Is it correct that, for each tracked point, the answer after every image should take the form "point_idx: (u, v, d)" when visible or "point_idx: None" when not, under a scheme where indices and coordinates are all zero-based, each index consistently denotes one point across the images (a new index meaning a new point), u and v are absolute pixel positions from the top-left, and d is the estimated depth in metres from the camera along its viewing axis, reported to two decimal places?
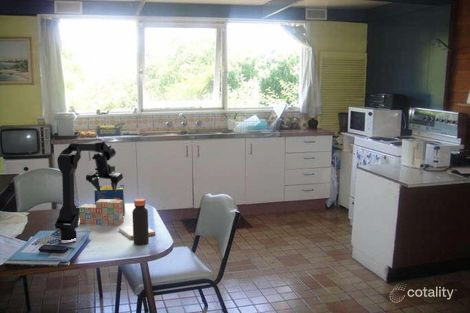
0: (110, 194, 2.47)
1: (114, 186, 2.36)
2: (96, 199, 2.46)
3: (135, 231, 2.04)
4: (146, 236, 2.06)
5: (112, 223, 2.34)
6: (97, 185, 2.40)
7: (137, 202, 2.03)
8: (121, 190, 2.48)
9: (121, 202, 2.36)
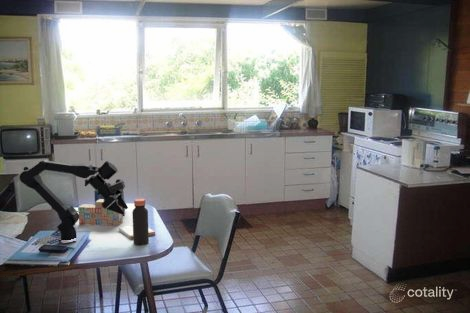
0: None
1: (113, 210, 2.03)
2: (96, 199, 2.46)
3: (135, 231, 2.04)
4: (146, 236, 2.06)
5: (111, 223, 2.34)
6: (121, 203, 2.14)
7: (137, 202, 2.03)
8: None
9: None
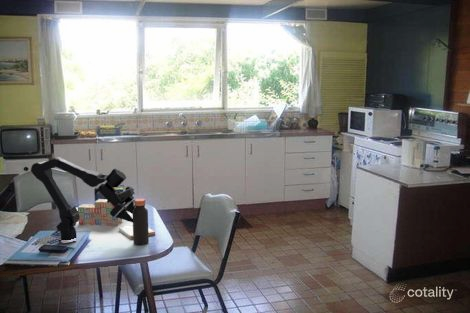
0: None
1: (122, 218, 2.00)
2: (96, 199, 2.46)
3: (135, 231, 2.04)
4: (146, 236, 2.06)
5: (111, 223, 2.34)
6: (132, 211, 2.11)
7: (137, 202, 2.03)
8: (121, 190, 2.48)
9: None
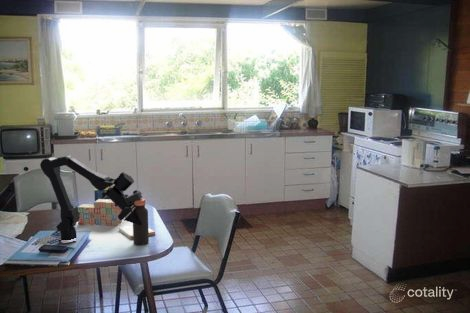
0: None
1: (130, 221, 2.02)
2: (96, 199, 2.46)
3: (135, 231, 2.04)
4: (146, 236, 2.06)
5: (110, 223, 2.34)
6: None
7: (137, 202, 2.03)
8: None
9: None
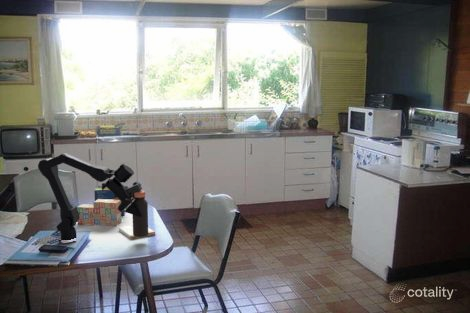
0: (110, 194, 2.47)
1: (130, 213, 2.02)
2: (96, 199, 2.46)
3: (135, 223, 2.04)
4: (146, 228, 2.06)
5: (110, 223, 2.34)
6: None
7: (137, 194, 2.03)
8: None
9: (119, 202, 2.36)
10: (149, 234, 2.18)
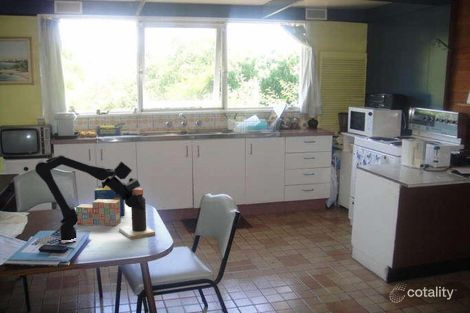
0: (110, 194, 2.47)
1: (135, 207, 2.13)
2: (96, 199, 2.46)
3: (136, 219, 2.18)
4: (145, 222, 2.21)
5: (108, 223, 2.34)
6: None
7: (137, 191, 2.17)
8: None
9: (118, 202, 2.36)
10: (149, 234, 2.18)
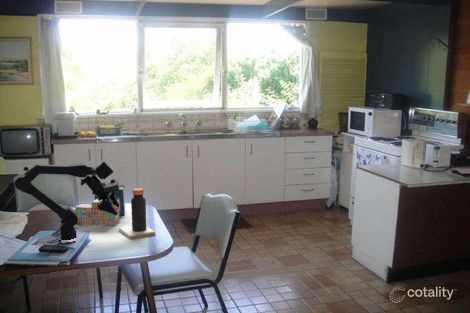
0: None
1: (107, 211, 2.10)
2: None
3: (136, 219, 2.18)
4: (145, 222, 2.21)
5: (107, 223, 2.34)
6: (113, 201, 2.20)
7: (137, 191, 2.17)
8: (121, 190, 2.48)
9: None
10: (149, 234, 2.18)
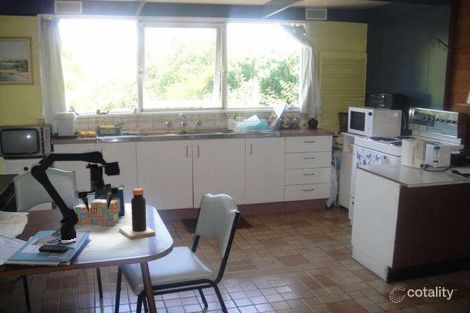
0: None
1: None
2: None
3: (136, 219, 2.18)
4: (145, 222, 2.21)
5: (106, 223, 2.34)
6: (107, 200, 2.17)
7: (137, 191, 2.17)
8: (121, 190, 2.48)
9: (116, 202, 2.35)
10: (149, 234, 2.18)
